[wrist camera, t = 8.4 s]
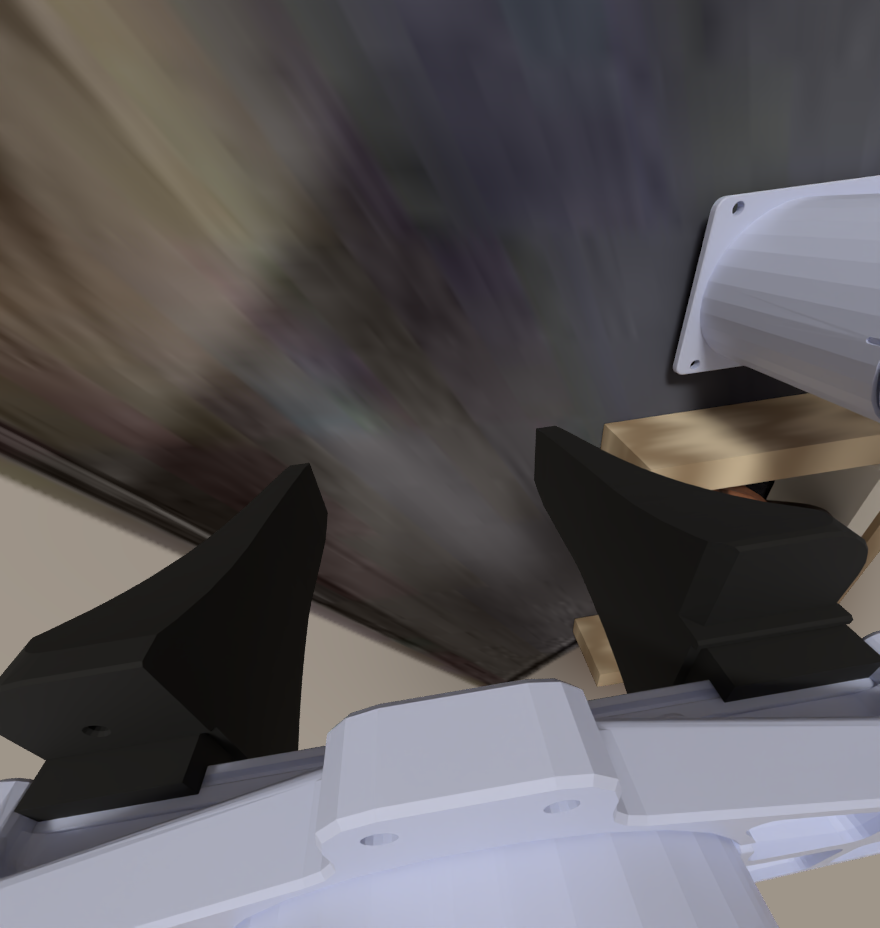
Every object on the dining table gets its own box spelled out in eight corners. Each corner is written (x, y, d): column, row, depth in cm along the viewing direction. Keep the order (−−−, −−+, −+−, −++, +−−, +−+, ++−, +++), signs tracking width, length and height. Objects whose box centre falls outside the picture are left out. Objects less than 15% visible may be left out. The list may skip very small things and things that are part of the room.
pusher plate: (822, 425, 24) (910, 468, 20) (735, 592, 34) (783, 645, 30) (800, 428, 24) (884, 472, 20) (719, 595, 34) (765, 648, 30)
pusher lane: (878, 382, 23) (983, 418, 19) (753, 601, 36) (800, 652, 32) (604, 423, 23) (651, 470, 19) (572, 631, 35) (597, 687, 31)
